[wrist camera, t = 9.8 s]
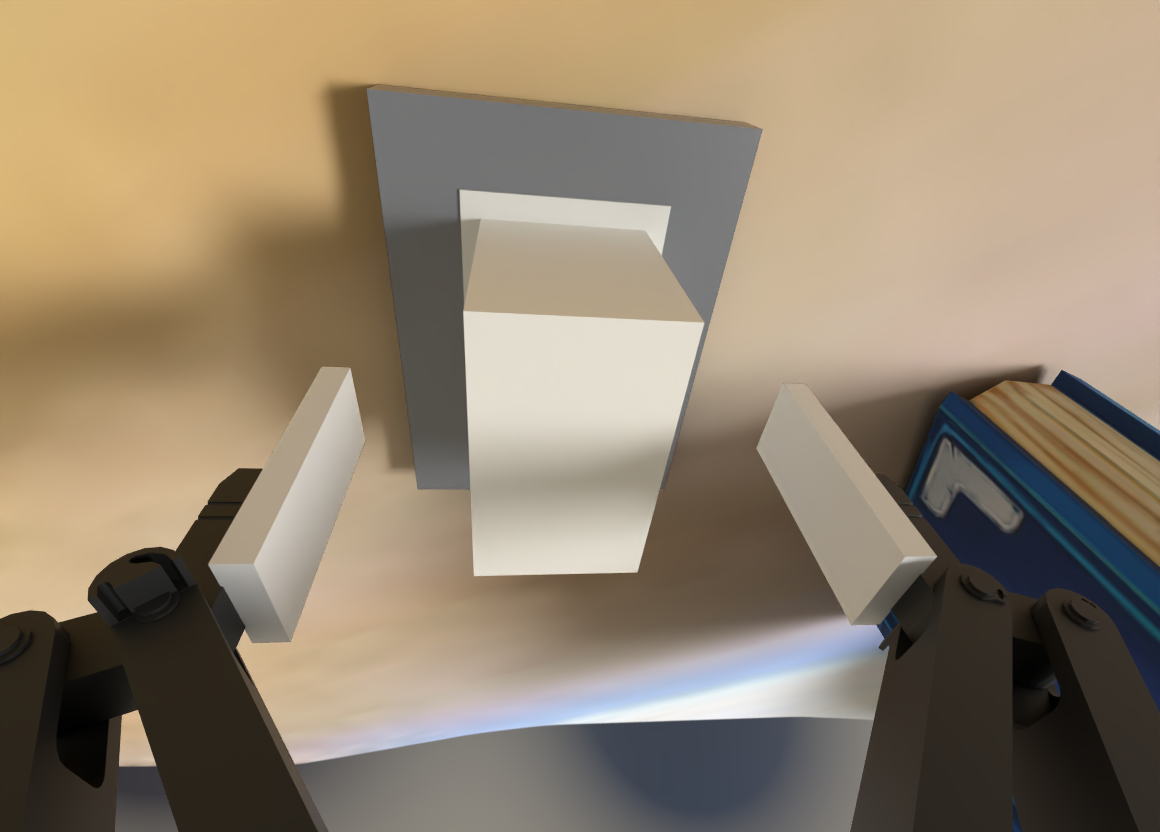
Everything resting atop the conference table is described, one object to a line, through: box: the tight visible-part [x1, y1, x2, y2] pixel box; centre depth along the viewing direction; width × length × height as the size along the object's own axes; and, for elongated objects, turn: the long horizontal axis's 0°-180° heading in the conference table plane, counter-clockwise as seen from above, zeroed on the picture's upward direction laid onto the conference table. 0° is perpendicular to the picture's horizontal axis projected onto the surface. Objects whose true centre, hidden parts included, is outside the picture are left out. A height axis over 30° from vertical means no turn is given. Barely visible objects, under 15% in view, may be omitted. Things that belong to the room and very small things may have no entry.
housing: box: [463, 219, 704, 576], centre depth 17 cm, size 10×6×7 cm, turn 174°
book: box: [877, 370, 1160, 832], centre depth 22 cm, size 22×7×25 cm, turn 10°
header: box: [367, 84, 763, 489], centre depth 19 cm, size 16×12×5 cm
